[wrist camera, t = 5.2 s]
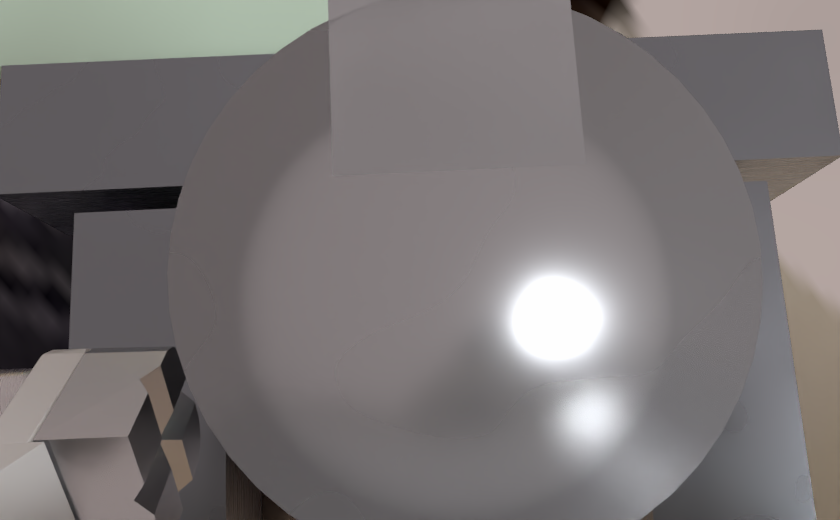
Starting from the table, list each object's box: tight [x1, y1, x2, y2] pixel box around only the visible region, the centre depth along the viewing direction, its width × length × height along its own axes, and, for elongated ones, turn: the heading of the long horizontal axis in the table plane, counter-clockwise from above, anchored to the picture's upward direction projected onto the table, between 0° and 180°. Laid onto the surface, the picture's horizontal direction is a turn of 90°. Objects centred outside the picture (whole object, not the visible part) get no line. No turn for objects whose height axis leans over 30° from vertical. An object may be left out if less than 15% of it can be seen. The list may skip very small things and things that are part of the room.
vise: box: [0, 30, 840, 520], centre depth 15 cm, size 17×9×3 cm, turn 93°
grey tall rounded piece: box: [167, 0, 763, 520], centre depth 10 cm, size 6×7×12 cm
